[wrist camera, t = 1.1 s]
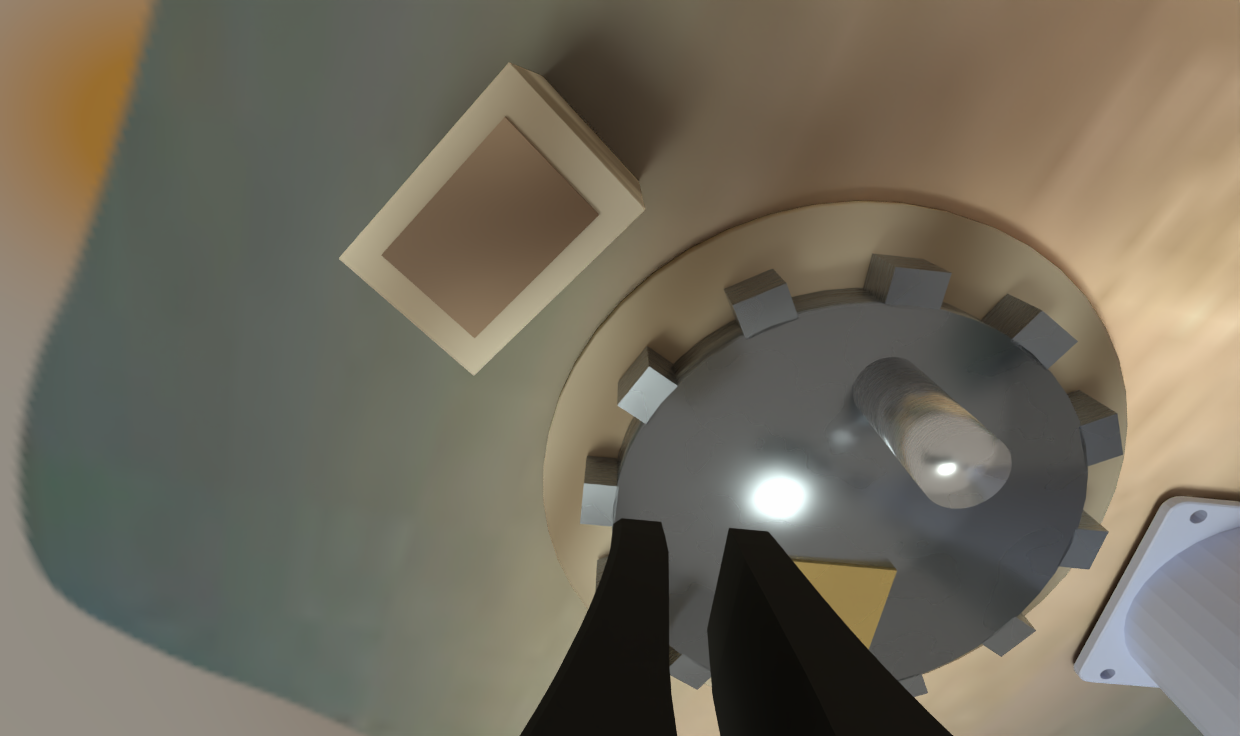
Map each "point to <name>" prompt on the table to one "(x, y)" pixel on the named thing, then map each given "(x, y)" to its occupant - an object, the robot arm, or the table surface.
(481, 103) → the link block
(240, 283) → the table surface
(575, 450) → the sprocket base
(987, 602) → the sprocket
